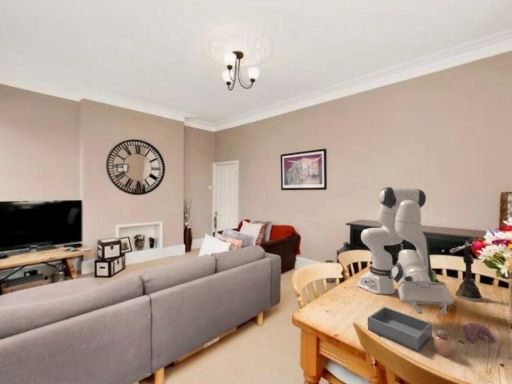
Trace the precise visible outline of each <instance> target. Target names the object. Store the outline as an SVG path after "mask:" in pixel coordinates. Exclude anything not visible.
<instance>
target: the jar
mask: <svg viewBox="0 0 512 384" xmlns="http://www.w3.org/2000/svg"><path fill="white" fill-rule="evenodd" d="M433 347H434V349H433V351H434V352H435V354H437V355H439V356H441V357H444V358H445V357H446V358H450V357H451V356H452V338H451V337H450V336H449V332H448V331H446V330H445V329H440V328H438V329H436V333H433Z"/></svg>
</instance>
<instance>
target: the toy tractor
mask: <svg viewBox="0 0 512 384" xmlns="http://www.w3.org/2000/svg"><path fill="white" fill-rule="evenodd" d="M432 272H433V277H434V280H433V282H435V283H440V281H439V278H437V274H436V271H435V270H432Z"/></svg>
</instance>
